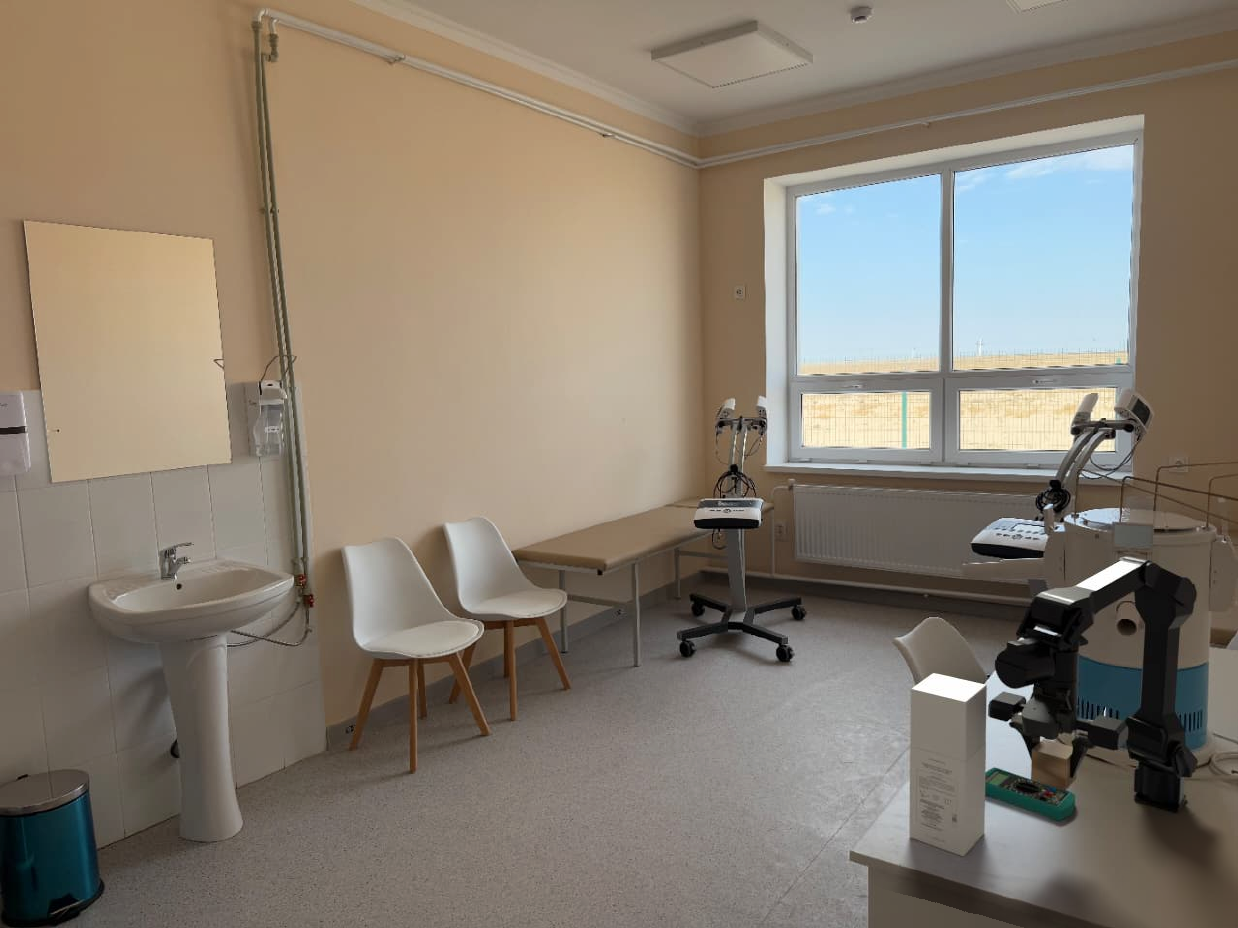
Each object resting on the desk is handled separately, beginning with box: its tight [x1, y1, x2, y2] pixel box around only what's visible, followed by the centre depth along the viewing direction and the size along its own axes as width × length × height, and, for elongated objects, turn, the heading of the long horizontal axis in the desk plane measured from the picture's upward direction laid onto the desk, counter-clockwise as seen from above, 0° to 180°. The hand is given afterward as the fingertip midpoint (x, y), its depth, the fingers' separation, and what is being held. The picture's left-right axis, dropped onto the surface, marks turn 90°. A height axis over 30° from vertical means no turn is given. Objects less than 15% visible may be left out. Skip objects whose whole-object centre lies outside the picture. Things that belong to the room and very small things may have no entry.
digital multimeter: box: [985, 767, 1076, 821], centre depth 149 cm, size 7×15×3 cm, turn 44°
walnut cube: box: [1030, 738, 1078, 791], centre depth 134 cm, size 5×5×5 cm
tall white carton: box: [909, 672, 988, 857], centre depth 137 cm, size 9×9×25 cm
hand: (1054, 771), depth 134 cm, fingers closed on walnut cube, 5 cm apart
